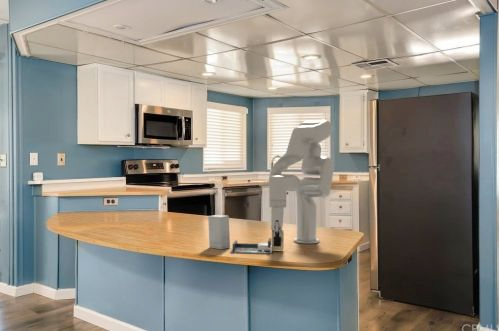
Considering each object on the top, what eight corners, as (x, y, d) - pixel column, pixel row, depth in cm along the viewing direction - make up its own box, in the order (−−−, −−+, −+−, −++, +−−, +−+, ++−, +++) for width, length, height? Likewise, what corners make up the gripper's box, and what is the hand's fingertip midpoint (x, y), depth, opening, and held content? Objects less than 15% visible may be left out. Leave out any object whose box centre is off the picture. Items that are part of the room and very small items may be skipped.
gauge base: (234, 247, 197) (234, 239, 197) (273, 248, 194) (273, 240, 194) (230, 253, 185) (230, 244, 185) (272, 254, 183) (272, 246, 182)
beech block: (272, 247, 191) (272, 229, 191) (283, 247, 191) (283, 229, 190) (271, 249, 186) (271, 231, 186) (283, 250, 186) (283, 231, 185)
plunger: (259, 247, 193) (259, 237, 193) (271, 247, 192) (271, 238, 192) (257, 251, 183) (257, 241, 183) (269, 252, 183) (269, 242, 183)
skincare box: (230, 248, 195) (230, 215, 195) (221, 250, 190) (221, 216, 190) (217, 245, 200) (217, 214, 200) (207, 247, 196) (207, 215, 196)
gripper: (270, 201, 197) (270, 240, 197) (267, 205, 180) (267, 248, 180) (286, 201, 196) (286, 241, 196) (285, 205, 179) (285, 249, 179)
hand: (277, 244), depth 188 cm, fingers closed on beech block, 5 cm apart
